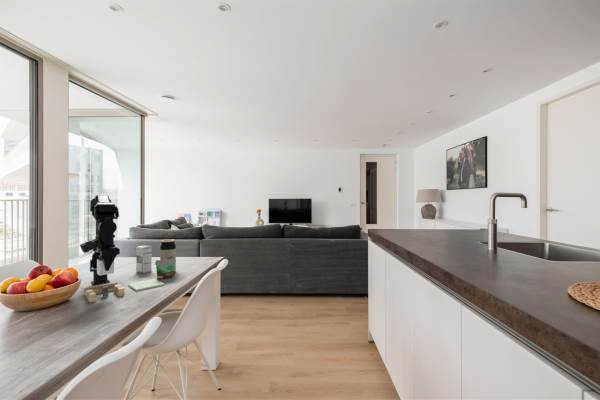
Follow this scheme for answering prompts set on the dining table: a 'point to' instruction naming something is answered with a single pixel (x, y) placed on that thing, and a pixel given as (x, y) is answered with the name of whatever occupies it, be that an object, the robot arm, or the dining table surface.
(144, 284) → the board
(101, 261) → the steel collar
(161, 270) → the food container
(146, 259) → the syrup box
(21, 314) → the dining table surface
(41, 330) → the dining table surface
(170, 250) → the travel mug
